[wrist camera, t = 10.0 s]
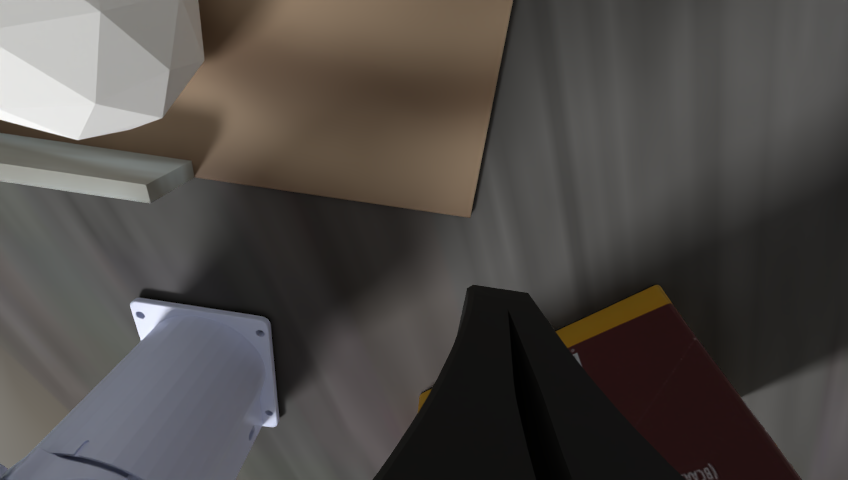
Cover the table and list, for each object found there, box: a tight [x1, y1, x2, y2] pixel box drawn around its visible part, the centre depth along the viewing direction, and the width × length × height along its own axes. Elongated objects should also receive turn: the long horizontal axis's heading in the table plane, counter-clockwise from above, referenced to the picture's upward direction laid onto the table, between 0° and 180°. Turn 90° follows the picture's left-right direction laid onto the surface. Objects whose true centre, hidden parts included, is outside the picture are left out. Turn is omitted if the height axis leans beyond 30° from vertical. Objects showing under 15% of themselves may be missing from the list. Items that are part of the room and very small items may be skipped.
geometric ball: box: [0, 0, 204, 140], centre depth 12 cm, size 8×8×8 cm
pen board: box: [0, 0, 513, 218], centre depth 14 cm, size 13×26×3 cm, turn 83°
